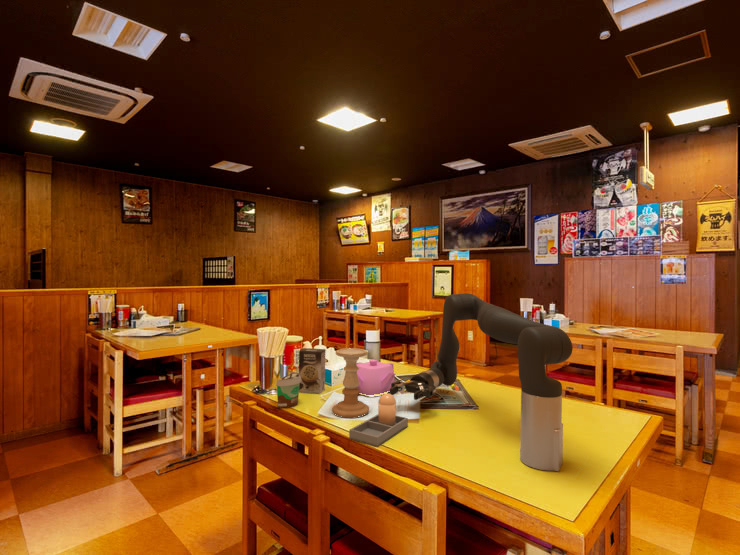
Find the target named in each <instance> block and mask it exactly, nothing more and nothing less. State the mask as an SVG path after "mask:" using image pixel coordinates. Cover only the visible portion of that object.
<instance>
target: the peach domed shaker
mask: <svg viewBox="0 0 740 555" xmlns="http://www.w3.org/2000/svg"><path fill="white" fill-rule="evenodd" d="M396 400H397V399H396V398H395V397H394V395H391V394H390V393H387V394H383V395H382V396H379V399H378V404H377V405H378V409H377V410H378V412H377V414H378V423H381V424H384V425H388V426H394V425H396V416H397V401H396Z"/></svg>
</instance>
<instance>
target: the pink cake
mask: <svg viewBox="0 0 740 555" xmlns="http://www.w3.org/2000/svg"><path fill="white" fill-rule="evenodd" d="M356 365H357V367H358V368H359V370H358V371H357V376H358V380H359V386H358V387H357V388H358V389H359V390H360V393H362V394H366V395H374V394H380V393H384V392H387V391H390V388H391V383H393V382H396V380H395V376H396V373H395V370H394V363H392V362H381V361H379V360H377V359H373V358H372V359H370V360H369V361H367V362H357V363H356Z"/></svg>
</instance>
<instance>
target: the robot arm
mask: <svg viewBox="0 0 740 555" xmlns="http://www.w3.org/2000/svg"><path fill="white" fill-rule="evenodd" d="M444 299H445V300H444V303H443V308H442V310H443V311H442V324H441V340H440V344H439V345H440V346H439V350H438V353H437V360H436V361H433V363H432V364H431V365H430V368H429V369H427V370H423V371H420V372H418V373H417V374H415V375H413V376H412V377H411V378H410V380H408V381H403V380H402V379H399V380H397V381H396V380H395V382H393V383H391V388H390V393H389V394H391V395H393V396H394V395H396V394H398V393H402V394H413V400H415V401H417V400H419V399H421V398H422V399H424V398H425V397H426V399H431V398H432V397H433V396H435V395H436V391H437V388H439V387H441V386H442V385H445V386H447V387H449V386H452V385H454V384H455V382H456V380H457V379H458V378H457V377H458V367H457V359H458V354H459V351H460V341H459V338H458V337H457V334H456V332H455V330H454V325H455V322H457V321H459V322H460V321H469V320H473V321H477V326H478V327H479V329H480V331H481V332H482V333H484V334H485V335H486V336H489V337H490V338H492V339H494V340H497V341H500V342H504V343H507V344H508V343H509V344H514V345H517V357H518V358H517V359H518V360H517V361H518V362H517V363H518V364H517V365H518V376H519V381H520V385H521V386H520V394H521V395H520V435H519V436H520V439H519V440H520V441H519V442H520V446H519V447H520V449H519V457H520V458H519V459H520V461H521V462H522V464H524V465H526V466H528V467H530V468H533V469H535V470H536V469H537V470H541V471H555V472H560V469H561V466H562V464H563V452H564V450H563V449H564V448H563V447H564V439H563V438H564V423H562V418H563V417H562V412H563V410H562V409H563V408H562V407H563V385H562V382H560V381H559V380H558V379H555V378H554V377H551V376H548V375H547V372H546V365H557V364H561V363H563V362H566V361H567V360H569V358H570V357H571V356H572V354H573V343H572V341H571V338H570V337H569V335H568V333H566V332H565V331H564V330H563V329H562V328H560V327H558V326H553V325H548V324H545V323H541V322H537V321H533V320H531V319H530V318H529V319H528V318H527V317H525V316H523V315H520V314H517V313H514V312H513V311H511V310H509V309H505V308H503V307H500V306H497V305H495V304H492V303H489V302H487V301H485V300H483V299H482V298H480V297H478V296H477V295H475V294H472V293H468V292H467V293H453V294H448V295H447V296H446V297H445V298H444Z"/></svg>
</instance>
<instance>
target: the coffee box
mask: <svg viewBox="0 0 740 555" xmlns="http://www.w3.org/2000/svg"><path fill="white" fill-rule="evenodd" d="M326 351H327V350H326V349H324V348H323V349H322V348H307V347H304V348H301V349H300V350H299V351H298V373H299V374H300V376H301V380H302V381H301V382H300V384H299V393H303V394H316V395H317V394H319V395H320V394H322V393H323V392H325V390H326V386H325V383H326V382H325V381H326V353H327V352H326Z"/></svg>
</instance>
